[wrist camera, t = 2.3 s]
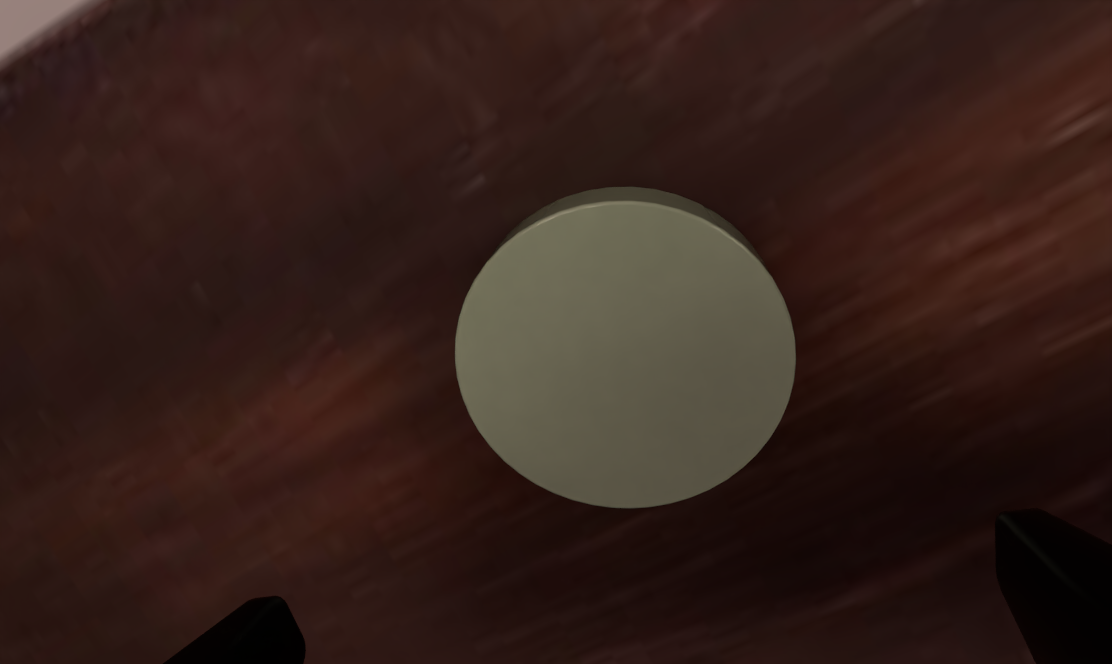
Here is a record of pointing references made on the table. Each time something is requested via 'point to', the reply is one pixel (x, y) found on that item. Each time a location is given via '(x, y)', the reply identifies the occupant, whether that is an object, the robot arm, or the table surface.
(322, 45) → the table surface
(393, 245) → the table surface
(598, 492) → the green cylinder
